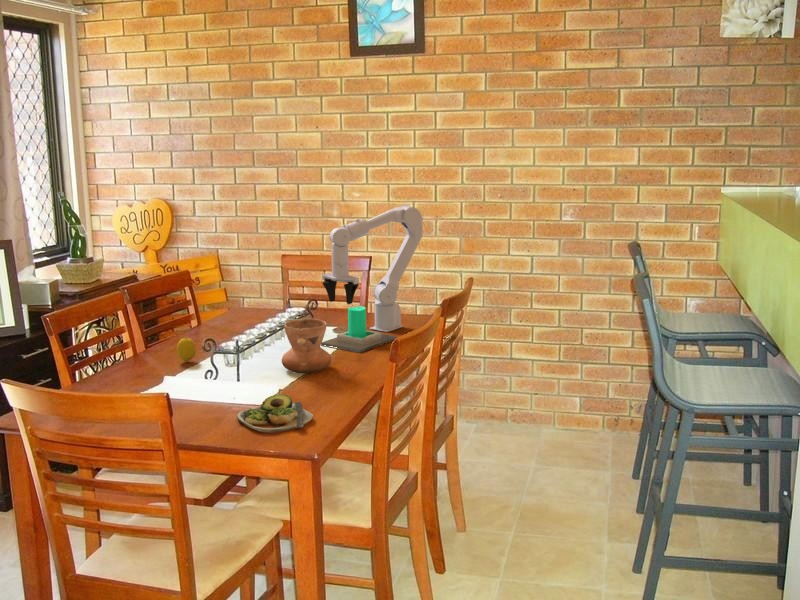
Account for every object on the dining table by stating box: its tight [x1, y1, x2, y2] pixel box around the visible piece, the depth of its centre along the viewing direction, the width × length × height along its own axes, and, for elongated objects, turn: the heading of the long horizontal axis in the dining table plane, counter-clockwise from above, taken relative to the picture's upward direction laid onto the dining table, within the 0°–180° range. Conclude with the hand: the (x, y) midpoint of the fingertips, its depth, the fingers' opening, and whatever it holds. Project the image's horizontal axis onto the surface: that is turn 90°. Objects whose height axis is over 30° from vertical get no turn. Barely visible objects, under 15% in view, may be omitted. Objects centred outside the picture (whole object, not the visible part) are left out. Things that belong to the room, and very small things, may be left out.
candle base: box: [320, 329, 398, 354], centre depth 281 cm, size 20×16×3 cm
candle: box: [347, 305, 367, 338], centre depth 281 cm, size 6×6×12 cm
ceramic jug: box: [281, 317, 332, 374], centre depth 250 cm, size 18×14×14 cm
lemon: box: [176, 336, 197, 363], centre depth 258 cm, size 6×6×8 cm
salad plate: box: [236, 393, 314, 434], centre depth 208 cm, size 19×18×5 cm
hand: (340, 302), depth 294 cm, fingers open, 7 cm apart
